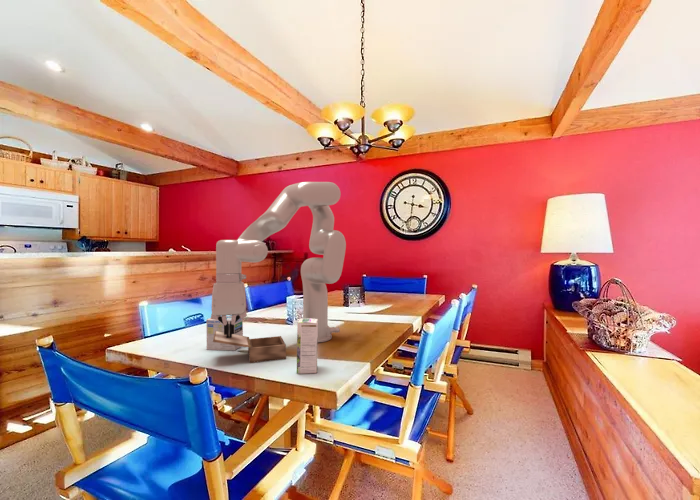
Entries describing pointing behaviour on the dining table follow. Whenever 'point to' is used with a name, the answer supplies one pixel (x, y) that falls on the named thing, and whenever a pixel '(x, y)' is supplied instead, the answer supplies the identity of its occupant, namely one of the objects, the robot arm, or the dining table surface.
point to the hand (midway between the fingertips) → (229, 336)
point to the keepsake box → (267, 349)
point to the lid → (232, 339)
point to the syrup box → (307, 345)
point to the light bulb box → (219, 327)
